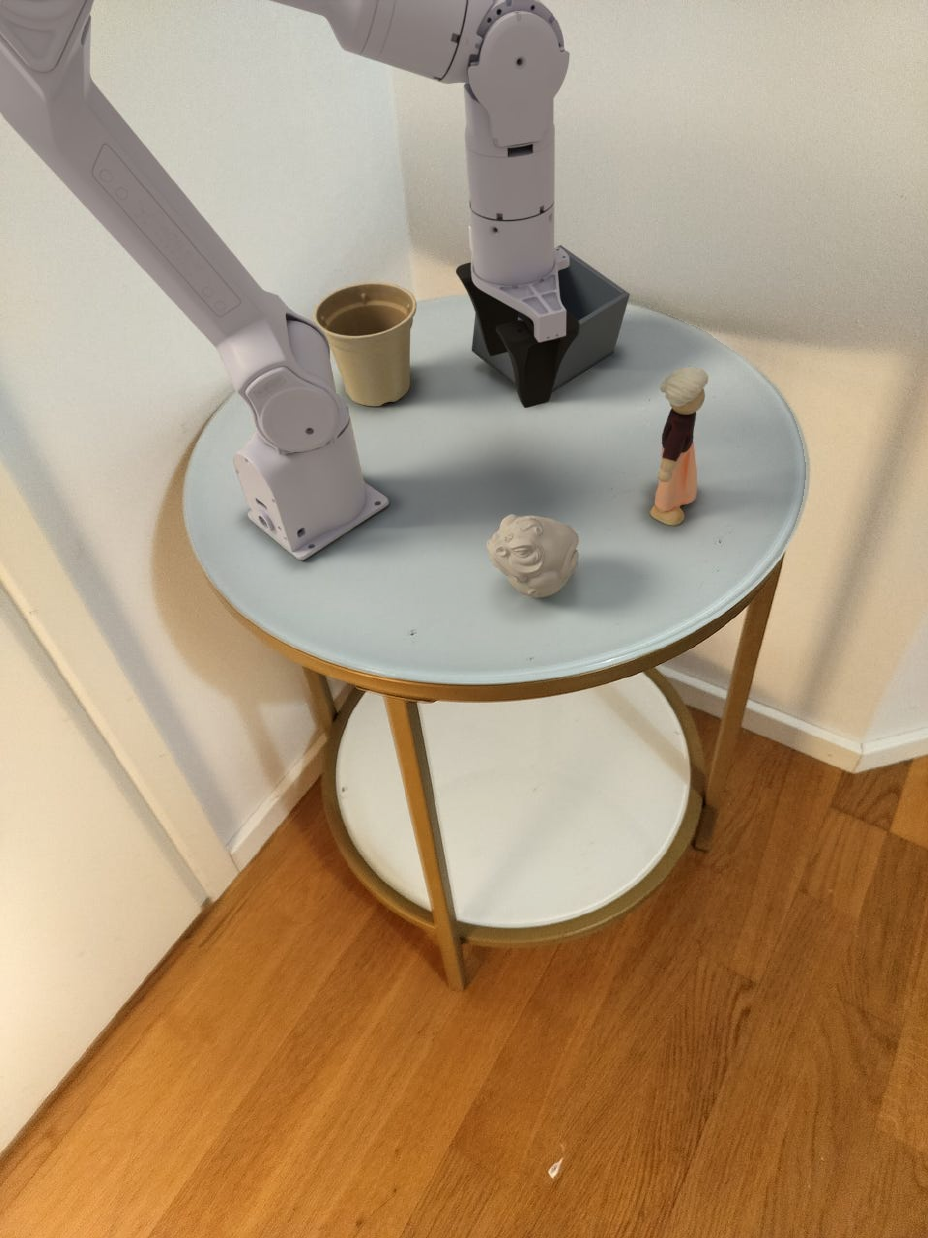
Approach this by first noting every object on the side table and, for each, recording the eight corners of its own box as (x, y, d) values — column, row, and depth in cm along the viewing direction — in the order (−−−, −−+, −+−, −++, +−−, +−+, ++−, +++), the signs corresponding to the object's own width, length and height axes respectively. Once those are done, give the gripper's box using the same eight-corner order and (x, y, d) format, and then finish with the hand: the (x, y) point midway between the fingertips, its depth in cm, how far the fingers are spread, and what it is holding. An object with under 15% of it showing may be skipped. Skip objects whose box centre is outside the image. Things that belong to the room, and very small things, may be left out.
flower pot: (424, 415, 81) (413, 333, 75) (325, 420, 82) (306, 339, 76) (428, 359, 88) (419, 278, 81) (337, 364, 88) (320, 284, 82)
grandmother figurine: (695, 535, 68) (719, 401, 59) (646, 533, 69) (661, 399, 60) (694, 472, 73) (716, 339, 64) (648, 470, 74) (663, 338, 64)
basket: (536, 403, 81) (548, 344, 75) (452, 335, 85) (457, 274, 79) (613, 352, 86) (630, 293, 80) (530, 290, 90) (540, 230, 84)
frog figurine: (478, 575, 67) (471, 509, 62) (559, 548, 69) (560, 480, 63) (508, 630, 64) (504, 564, 58) (594, 600, 65) (598, 532, 60)
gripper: (612, 234, 54) (602, 414, 64) (528, 150, 63) (531, 319, 74) (506, 259, 53) (513, 438, 63) (436, 170, 62) (452, 339, 72)
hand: (517, 376), depth 68 cm, fingers open, 7 cm apart
